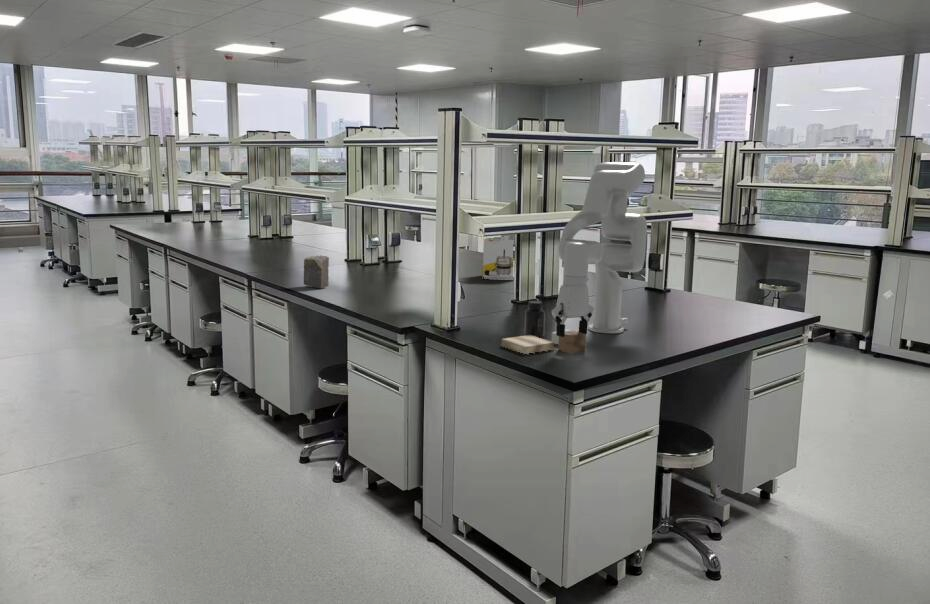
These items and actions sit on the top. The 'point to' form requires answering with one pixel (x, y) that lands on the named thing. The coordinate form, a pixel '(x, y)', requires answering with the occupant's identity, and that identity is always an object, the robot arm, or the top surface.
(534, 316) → the supplement bottle
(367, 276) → the top surface
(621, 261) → the robot arm
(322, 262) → the geological specimen
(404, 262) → the top surface
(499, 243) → the packaging box
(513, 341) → the oak block
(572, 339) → the walnut cube
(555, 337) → the grey plastic block
